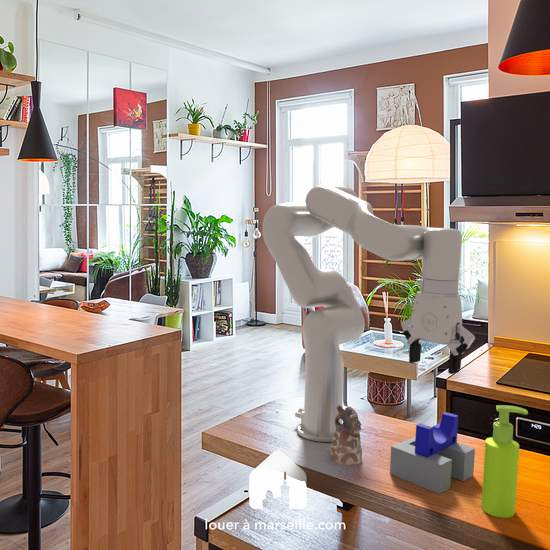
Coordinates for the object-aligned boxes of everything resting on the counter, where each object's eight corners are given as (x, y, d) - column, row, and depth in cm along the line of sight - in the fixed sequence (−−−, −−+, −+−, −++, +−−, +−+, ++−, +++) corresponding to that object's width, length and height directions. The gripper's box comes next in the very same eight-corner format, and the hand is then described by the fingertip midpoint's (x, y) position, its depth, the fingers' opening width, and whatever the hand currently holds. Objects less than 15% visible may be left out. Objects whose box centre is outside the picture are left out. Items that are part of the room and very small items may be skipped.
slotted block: (389, 473, 124) (391, 446, 124) (424, 457, 133) (426, 432, 132) (439, 494, 115) (440, 465, 115) (473, 475, 124) (474, 448, 123)
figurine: (352, 468, 126) (354, 414, 125) (324, 459, 131) (326, 407, 129) (367, 457, 132) (369, 406, 131) (340, 449, 136) (342, 399, 135)
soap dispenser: (522, 521, 106) (530, 414, 104) (482, 515, 108) (489, 409, 105) (518, 505, 111) (525, 404, 109) (480, 500, 113) (486, 400, 111)
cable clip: (438, 436, 130) (439, 410, 129) (456, 442, 126) (458, 415, 126) (408, 451, 121) (409, 423, 121) (427, 457, 118) (429, 429, 117)
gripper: (394, 283, 126) (389, 360, 128) (466, 294, 113) (460, 380, 115) (415, 281, 130) (410, 356, 132) (487, 291, 118) (480, 374, 120)
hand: (433, 367), depth 124 cm, fingers open, 9 cm apart
